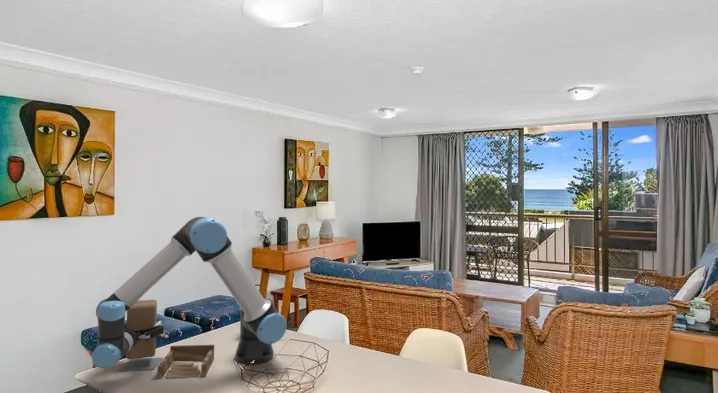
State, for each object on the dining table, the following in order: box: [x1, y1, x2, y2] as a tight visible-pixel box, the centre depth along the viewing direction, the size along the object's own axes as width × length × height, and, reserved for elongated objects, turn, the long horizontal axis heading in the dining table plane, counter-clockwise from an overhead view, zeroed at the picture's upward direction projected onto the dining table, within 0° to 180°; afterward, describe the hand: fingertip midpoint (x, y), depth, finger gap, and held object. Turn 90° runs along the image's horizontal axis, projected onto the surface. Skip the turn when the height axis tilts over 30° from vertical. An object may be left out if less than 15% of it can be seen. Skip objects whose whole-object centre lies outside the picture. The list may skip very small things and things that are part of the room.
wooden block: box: [125, 299, 158, 360], centre depth 172 cm, size 10×10×20 cm
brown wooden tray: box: [156, 344, 215, 380], centre depth 169 cm, size 18×16×6 cm
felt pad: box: [119, 357, 164, 372], centre depth 172 cm, size 12×12×1 cm
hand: (143, 324), depth 174 cm, fingers closed on wooden block, 11 cm apart
